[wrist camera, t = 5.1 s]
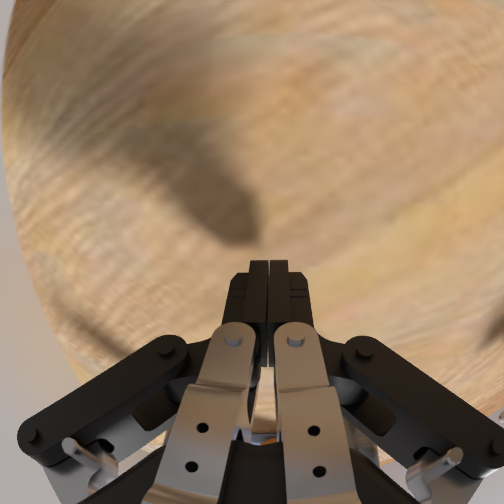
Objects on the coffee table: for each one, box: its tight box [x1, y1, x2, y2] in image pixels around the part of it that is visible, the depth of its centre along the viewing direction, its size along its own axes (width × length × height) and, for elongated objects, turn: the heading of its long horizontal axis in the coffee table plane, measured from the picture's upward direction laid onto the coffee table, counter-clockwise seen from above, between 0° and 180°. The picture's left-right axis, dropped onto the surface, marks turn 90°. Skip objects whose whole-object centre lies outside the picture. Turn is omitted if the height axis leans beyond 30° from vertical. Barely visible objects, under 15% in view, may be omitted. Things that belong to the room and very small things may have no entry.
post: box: [342, 416, 380, 468], centre depth 15 cm, size 3×3×9 cm
